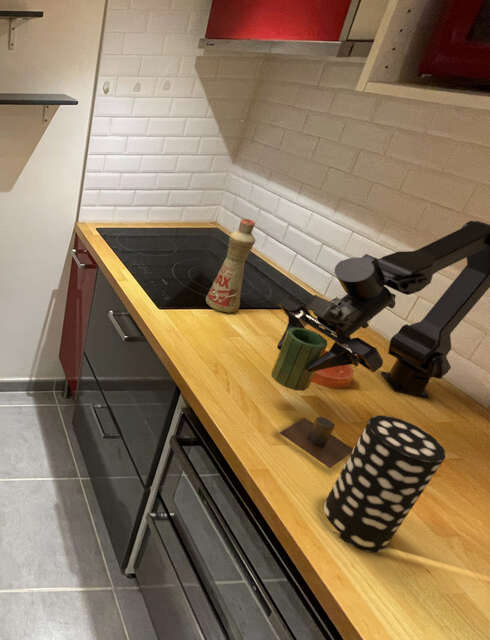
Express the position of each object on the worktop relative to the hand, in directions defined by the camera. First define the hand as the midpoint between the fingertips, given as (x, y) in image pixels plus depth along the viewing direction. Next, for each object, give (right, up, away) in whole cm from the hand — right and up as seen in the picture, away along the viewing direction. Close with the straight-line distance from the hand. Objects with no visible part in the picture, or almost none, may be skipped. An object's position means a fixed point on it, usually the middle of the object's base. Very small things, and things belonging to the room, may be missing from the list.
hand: (292, 359), depth 91 cm
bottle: (+11, +4, +42) cm, 44 cm away
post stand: (+2, -16, -3) cm, 16 cm away
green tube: (+1, -5, +3) cm, 6 cm away
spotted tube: (-4, -23, -18) cm, 29 cm away
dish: (+18, -8, +16) cm, 25 cm away
